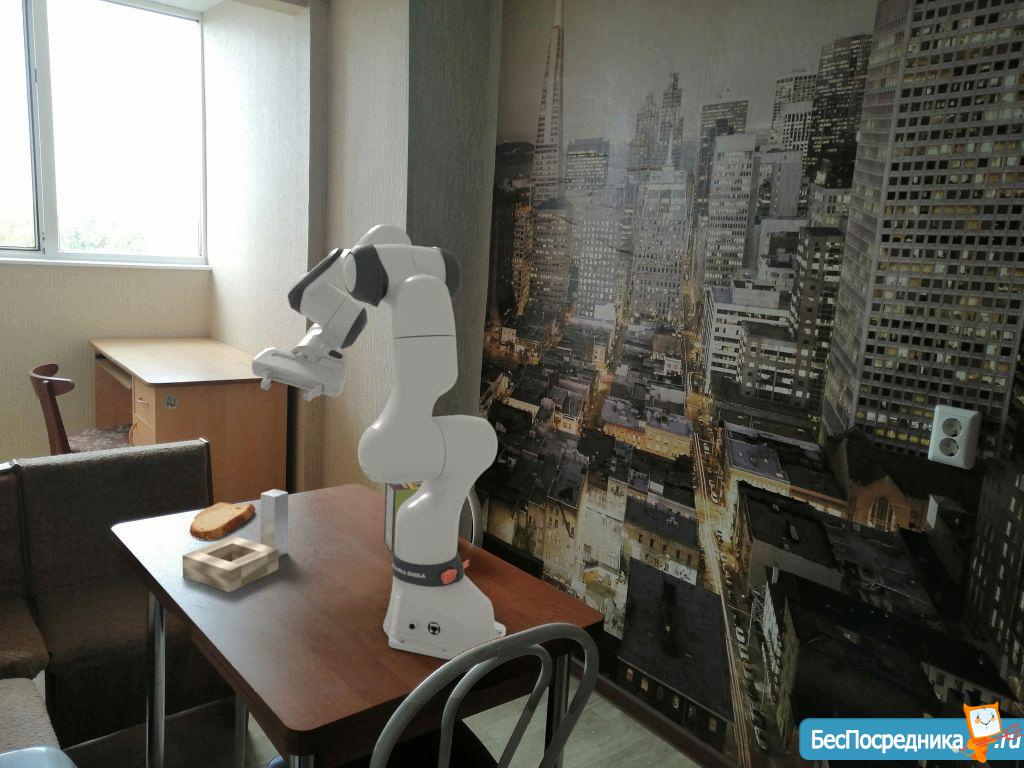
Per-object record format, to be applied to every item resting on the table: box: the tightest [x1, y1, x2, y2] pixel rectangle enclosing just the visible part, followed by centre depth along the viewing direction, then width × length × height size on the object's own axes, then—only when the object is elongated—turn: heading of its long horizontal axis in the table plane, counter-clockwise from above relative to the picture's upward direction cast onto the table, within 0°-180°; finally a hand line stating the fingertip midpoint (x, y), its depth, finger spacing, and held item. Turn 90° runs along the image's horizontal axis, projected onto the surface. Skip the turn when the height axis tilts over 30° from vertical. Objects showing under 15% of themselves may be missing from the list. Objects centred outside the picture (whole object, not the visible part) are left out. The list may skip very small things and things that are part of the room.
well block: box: [182, 535, 279, 593], centre depth 154 cm, size 13×13×4 cm
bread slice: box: [189, 501, 256, 541], centre depth 180 cm, size 18×18×4 cm
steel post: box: [260, 488, 289, 558], centre depth 163 cm, size 4×4×14 cm
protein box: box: [383, 481, 460, 555], centre depth 173 cm, size 10×15×16 cm
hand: (284, 392), depth 159 cm, fingers open, 8 cm apart
